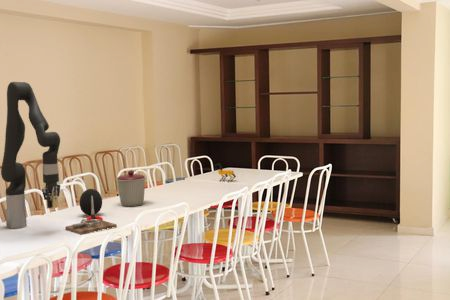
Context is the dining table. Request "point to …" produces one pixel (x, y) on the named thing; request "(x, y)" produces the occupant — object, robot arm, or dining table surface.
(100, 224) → the shaft rig
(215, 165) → the robot dog
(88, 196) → the decorative egg
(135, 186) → the canister
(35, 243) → the dining table surface
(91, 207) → the grey red upright piece
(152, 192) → the dining table surface
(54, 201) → the coupler
